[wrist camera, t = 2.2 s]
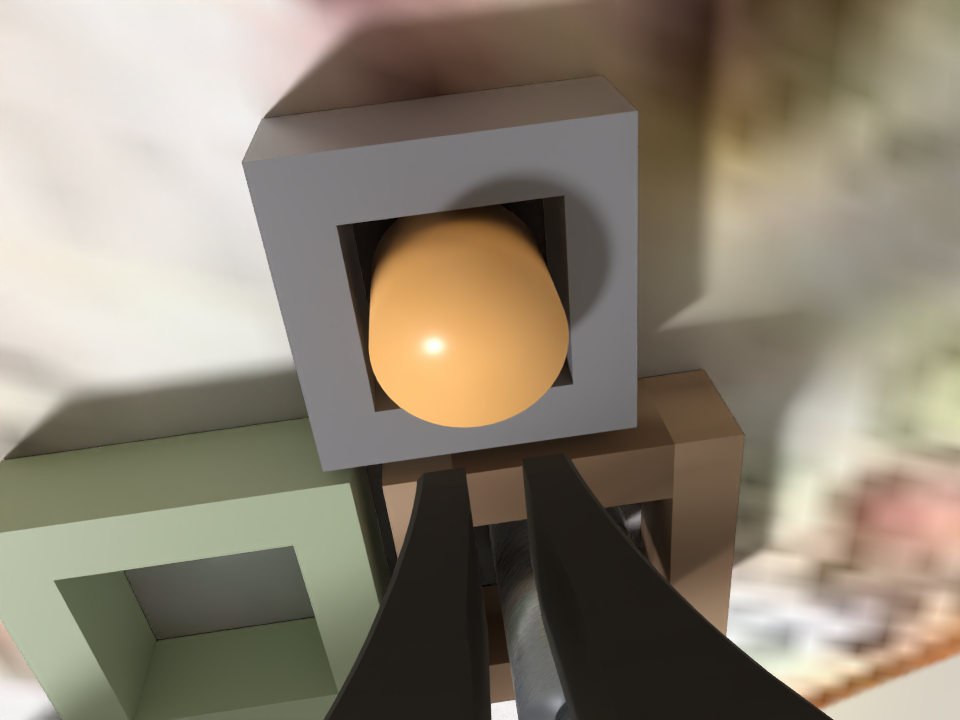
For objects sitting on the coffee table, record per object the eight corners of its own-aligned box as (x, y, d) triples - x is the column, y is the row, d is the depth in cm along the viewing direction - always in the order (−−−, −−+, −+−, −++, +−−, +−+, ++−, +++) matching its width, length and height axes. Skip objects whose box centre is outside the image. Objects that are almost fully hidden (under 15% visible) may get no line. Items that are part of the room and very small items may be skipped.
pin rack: (405, 640, 27) (407, 721, 25) (119, 683, 27) (92, 769, 24) (353, 411, 22) (349, 483, 20) (1, 460, 22) (-50, 539, 19)
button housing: (608, 361, 22) (637, 427, 20) (329, 400, 22) (322, 471, 19) (602, 75, 18) (638, 110, 16) (262, 118, 18) (241, 162, 15)
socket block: (691, 592, 27) (723, 667, 25) (426, 632, 27) (430, 712, 25) (703, 369, 23) (744, 434, 20) (382, 414, 22) (382, 486, 20)
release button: (548, 340, 20) (572, 413, 17) (386, 362, 20) (385, 439, 17) (537, 184, 18) (564, 240, 15) (356, 208, 18) (351, 269, 15)
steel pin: (617, 549, 26) (699, 793, 19) (493, 567, 26) (532, 819, 19) (616, 452, 24) (707, 687, 17) (481, 471, 24) (519, 715, 17)
